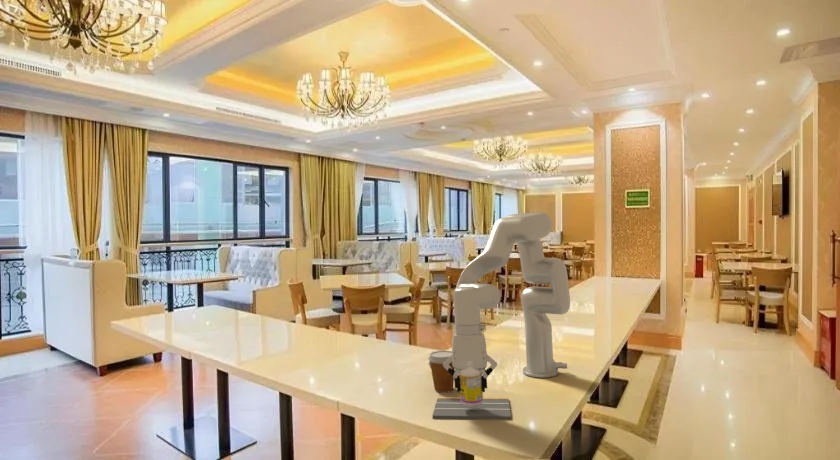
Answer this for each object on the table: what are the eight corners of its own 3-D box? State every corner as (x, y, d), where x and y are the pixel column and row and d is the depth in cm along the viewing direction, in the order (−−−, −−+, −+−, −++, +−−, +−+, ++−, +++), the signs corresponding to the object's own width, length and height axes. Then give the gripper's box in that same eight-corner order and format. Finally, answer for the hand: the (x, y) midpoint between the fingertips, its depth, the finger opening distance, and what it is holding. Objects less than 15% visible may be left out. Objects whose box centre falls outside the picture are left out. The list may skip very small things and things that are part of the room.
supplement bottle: (459, 399, 135) (457, 356, 135) (481, 398, 135) (479, 355, 135) (461, 407, 128) (458, 362, 128) (484, 406, 128) (482, 361, 128)
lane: (508, 399, 140) (508, 396, 140) (510, 419, 125) (510, 416, 125) (438, 399, 143) (437, 396, 143) (432, 418, 128) (432, 415, 128)
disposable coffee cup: (449, 395, 146) (447, 358, 146) (424, 391, 151) (423, 355, 151) (462, 386, 154) (461, 351, 154) (438, 383, 159) (437, 349, 159)
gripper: (497, 326, 134) (500, 386, 134) (439, 327, 137) (442, 386, 137) (498, 331, 127) (501, 395, 127) (437, 332, 129) (440, 395, 129)
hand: (471, 390), depth 132 cm, fingers closed on supplement bottle, 6 cm apart
